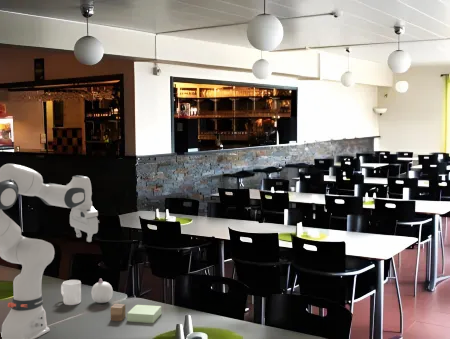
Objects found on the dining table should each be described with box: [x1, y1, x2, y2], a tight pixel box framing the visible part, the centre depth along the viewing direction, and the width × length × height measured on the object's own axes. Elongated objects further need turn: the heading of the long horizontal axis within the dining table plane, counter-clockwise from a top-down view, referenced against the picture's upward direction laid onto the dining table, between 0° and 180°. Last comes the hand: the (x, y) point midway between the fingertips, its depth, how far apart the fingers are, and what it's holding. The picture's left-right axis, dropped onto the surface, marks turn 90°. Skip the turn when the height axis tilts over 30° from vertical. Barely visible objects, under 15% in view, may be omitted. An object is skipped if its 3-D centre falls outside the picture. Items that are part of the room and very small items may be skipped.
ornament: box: [90, 278, 114, 304], centre depth 269 cm, size 10×10×12 cm
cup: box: [60, 279, 82, 306], centre depth 270 cm, size 8×12×10 cm
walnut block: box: [110, 303, 127, 322], centre depth 247 cm, size 5×5×6 cm
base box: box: [126, 304, 162, 324], centre depth 249 cm, size 12×12×4 cm
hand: (84, 239), depth 257 cm, fingers open, 8 cm apart
